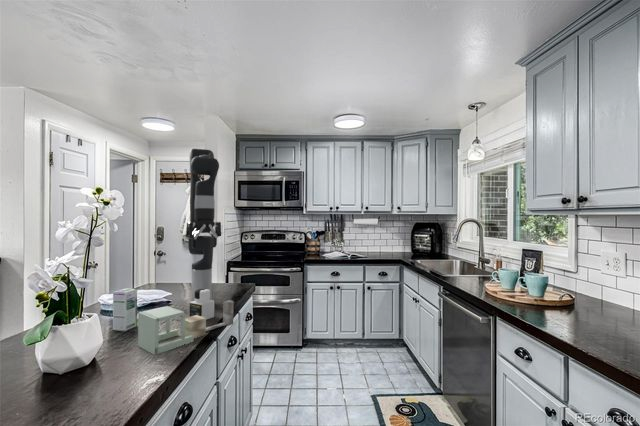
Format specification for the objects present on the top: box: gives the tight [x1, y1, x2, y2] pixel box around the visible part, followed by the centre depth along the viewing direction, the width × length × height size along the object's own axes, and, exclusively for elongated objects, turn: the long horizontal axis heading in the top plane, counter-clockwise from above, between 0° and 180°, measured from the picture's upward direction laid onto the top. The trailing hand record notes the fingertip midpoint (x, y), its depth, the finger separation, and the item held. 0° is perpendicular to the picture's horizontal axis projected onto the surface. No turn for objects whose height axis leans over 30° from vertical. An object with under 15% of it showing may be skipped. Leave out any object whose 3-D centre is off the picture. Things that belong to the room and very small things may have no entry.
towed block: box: [185, 299, 234, 340], centre depth 121 cm, size 19×6×9 cm, turn 143°
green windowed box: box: [137, 305, 194, 356], centre depth 107 cm, size 13×11×11 cm
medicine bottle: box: [189, 289, 215, 321], centre depth 135 cm, size 7×7×12 cm
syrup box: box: [112, 288, 138, 332], centre depth 122 cm, size 6×6×14 cm
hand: (204, 248), depth 128 cm, fingers open, 8 cm apart
